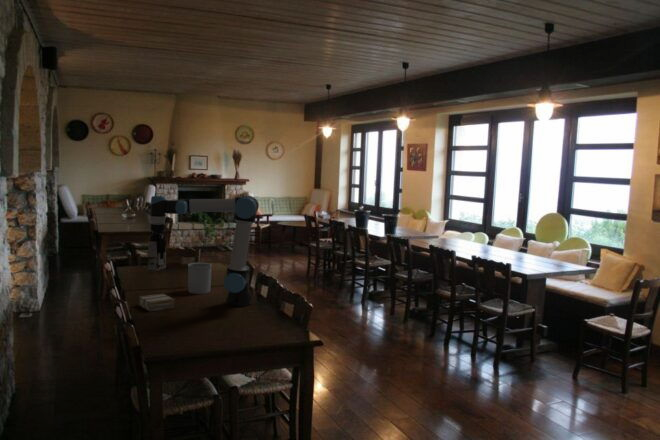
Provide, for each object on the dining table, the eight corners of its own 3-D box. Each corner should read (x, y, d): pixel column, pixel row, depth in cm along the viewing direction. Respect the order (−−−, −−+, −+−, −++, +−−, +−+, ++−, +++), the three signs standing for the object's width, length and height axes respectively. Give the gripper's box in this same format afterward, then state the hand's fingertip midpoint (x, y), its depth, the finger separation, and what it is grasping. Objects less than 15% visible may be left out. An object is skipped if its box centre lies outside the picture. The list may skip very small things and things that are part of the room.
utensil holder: (213, 293, 343) (213, 266, 341) (188, 294, 337) (189, 267, 336) (209, 288, 356) (209, 262, 355) (186, 289, 351) (186, 262, 349)
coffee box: (158, 270, 299) (158, 241, 298) (147, 269, 301) (147, 240, 299) (166, 267, 308) (166, 239, 307) (156, 266, 309) (156, 238, 308)
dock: (174, 308, 305) (174, 299, 304) (150, 311, 296) (150, 302, 295) (162, 302, 317) (163, 293, 317) (139, 305, 308) (139, 296, 308)
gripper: (143, 221, 308) (143, 260, 310) (159, 226, 291) (158, 266, 293) (156, 221, 313) (155, 259, 315) (172, 225, 296) (171, 265, 298)
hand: (157, 263), depth 304 cm, fingers closed on coffee box, 10 cm apart
